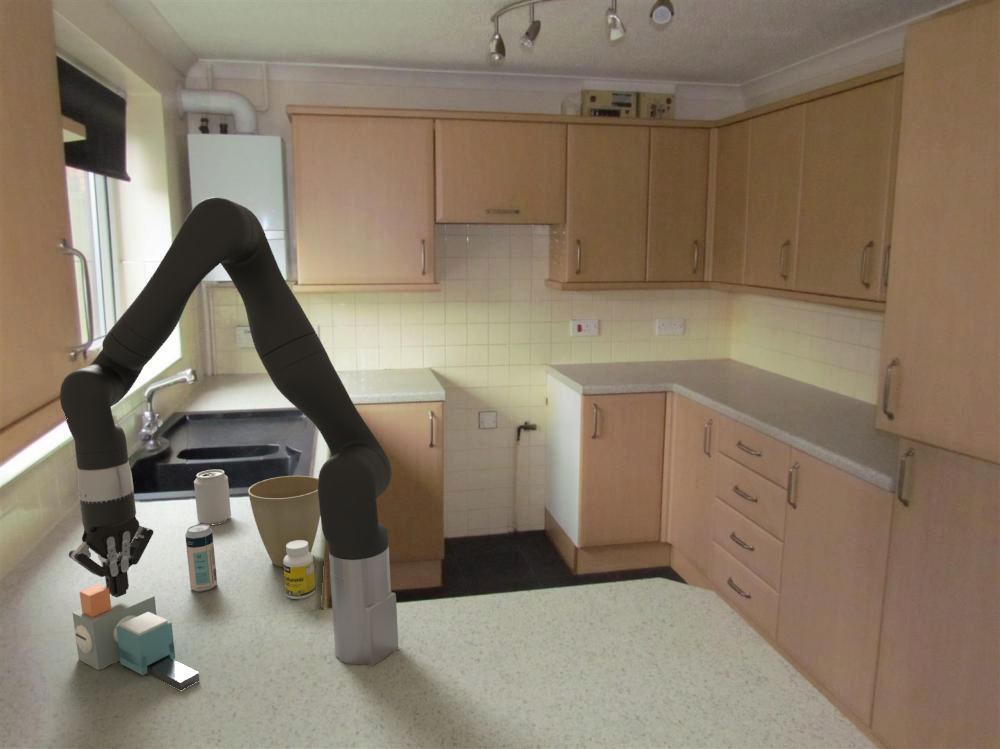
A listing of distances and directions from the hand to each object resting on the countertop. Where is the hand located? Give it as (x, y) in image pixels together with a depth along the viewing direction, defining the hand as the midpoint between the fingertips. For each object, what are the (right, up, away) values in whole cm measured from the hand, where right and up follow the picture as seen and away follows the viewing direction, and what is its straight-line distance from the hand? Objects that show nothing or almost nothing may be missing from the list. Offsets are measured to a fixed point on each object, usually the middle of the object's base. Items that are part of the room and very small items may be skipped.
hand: (118, 594), depth 117 cm
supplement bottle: (+24, -6, +19) cm, 31 cm away
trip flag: (-2, -2, -3) cm, 4 cm away
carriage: (+7, -10, -4) cm, 12 cm away
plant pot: (+18, -3, +34) cm, 39 cm away
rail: (+9, -10, -5) cm, 14 cm away
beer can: (+5, -6, +22) cm, 24 cm away
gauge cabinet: (0, -9, +1) cm, 9 cm away
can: (-7, 0, +57) cm, 58 cm away
